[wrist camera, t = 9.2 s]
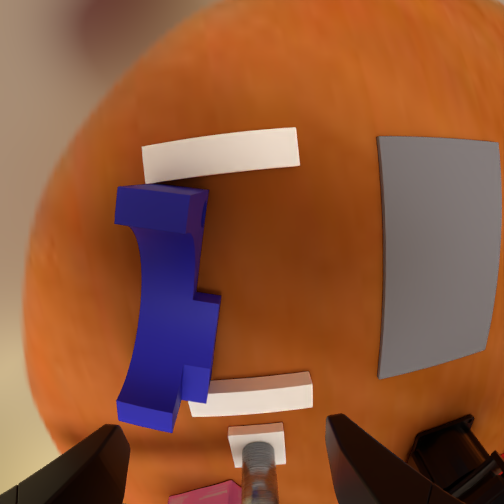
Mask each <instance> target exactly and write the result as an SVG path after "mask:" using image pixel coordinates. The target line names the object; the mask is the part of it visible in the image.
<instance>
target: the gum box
mask: <svg viewBox="0 0 504 504" xmlns="http://www.w3.org/2000/svg"><path fill="white" fill-rule="evenodd" d="M241 495H242V488H241V487H240V486H238V485H237V484H236V483H234V482H233V481H232V480H230V481H226V482H223V483H220V484H217V485H213V486H210V487H205V488H201V489H197V490H193V491H190V492H186V493H183V494H179V495H174V496H170V497H169V501H168V504H241Z"/></svg>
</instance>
